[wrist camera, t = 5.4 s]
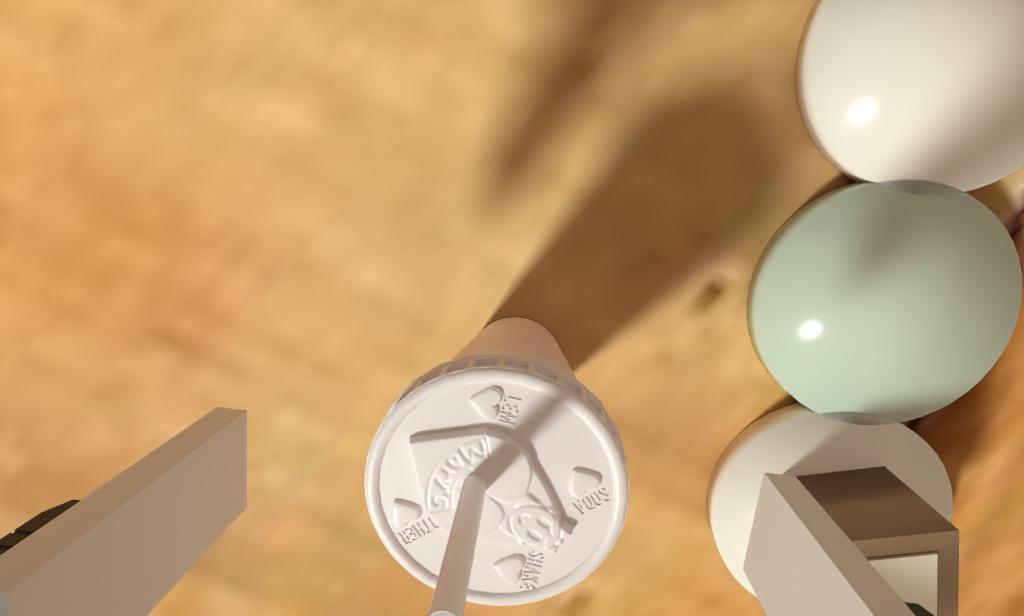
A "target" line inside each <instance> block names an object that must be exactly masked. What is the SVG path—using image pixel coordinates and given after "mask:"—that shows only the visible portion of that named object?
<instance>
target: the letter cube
mask: <svg viewBox="0 0 1024 616" xmlns="http://www.w3.org/2000/svg"><path fill="white" fill-rule="evenodd" d="M795 477H796V478H797V479H798V480H799V481H800V482H801V484H802V485H803V486H804V487H805V488H806V489H807V491H808V492H809V493H810V494H811V495H812V496H813V497H814V499H815V500H816V501H817V502H818V503H819V504H820V506H821V507H822V508H823V509H824V510H825V511H826V513H827V514H828V515H829V516H830V517H831V518H832V519H833V521H834V522H835V523H836V524H837V525H838V526H839V528H840V529H841V530H842V531H843V532H844V533H845V535H846V536H847V537H848V538H849V539H850V540H851V541H852V543H853V544H854V545H855V546H856V547H857V548H858V550H859V551H860V552H861V553H862V554H863V555H864V557H865V558H866V559H867V560H868V561H869V562H870V563H871V565H872V566H873V567H874V568H875V569H876V570H877V572H878V573H879V574H880V575H881V576H882V577H883V579H884V580H885V581H886V582H887V583H888V584H889V585H890V587H891V588H892V589H893V590H894V591H895V592H896V594H897V595H898V596H899V597H900V598H901V599H902V601H903V602H909V603H917V604H919V605H921V606H922V607H923V608H925V609H926V610H927V611H929V612H930V613H931V614H933V615H934V616H958V572H959V530H958V529H957V528H956V527H955V526H953V525H952V524H951V523H950V522H949V521H948V520H946V519H945V518H944V517H943V516H942V515H941V514H940V513H938V512H937V511H936V510H935V509H934V508H933V507H931V506H930V505H929V504H928V503H927V502H926V501H924V500H923V499H922V498H921V497H920V496H919V495H917V494H916V493H915V492H914V491H913V490H912V489H910V488H909V487H908V486H907V485H906V484H905V483H903V482H902V481H901V480H900V479H899V478H898V477H896V476H895V475H894V474H893V473H892V472H891V471H889V470H888V469H887V468H886V467H885V466H882V467H873V468H864V469H855V470H846V471H838V472H829V473H820V474H811V475H802V476H795Z"/></svg>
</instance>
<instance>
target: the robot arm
mask: <svg viewBox="0 0 1024 616" xmlns="http://www.w3.org/2000/svg"><path fill="white" fill-rule="evenodd" d="M246 507H247V411H246V410H238V409H229V408H221V407H217V408H215V409H214V410H212V411H211V412H210V413H208V414H207V415H205V416H204V417H202V418H201V419H199V420H198V421H196V422H195V423H193V424H192V425H191V426H189V427H188V428H186V429H185V430H183V431H182V432H180V433H179V434H177V435H176V436H174V437H173V438H172V439H170V440H169V441H167V442H166V443H164V444H163V445H161V446H160V447H158V448H157V449H155V450H154V451H153V452H151V453H150V454H148V455H147V456H145V457H144V458H142V459H141V460H139V461H138V462H136V463H135V464H133V465H132V466H131V467H129V468H128V469H126V470H125V471H123V472H122V473H120V474H119V475H117V476H116V477H114V478H113V479H112V480H110V481H109V482H107V483H106V484H104V485H103V486H101V487H100V488H98V489H97V490H95V491H94V492H93V493H91V494H90V495H88V496H87V497H85V498H84V499H82V500H81V501H80V500H71V501H68V502H66V503H64V504H61V505H59V506H56V507H54V508H51V509H49V510H47V511H44V512H42V513H40V514H38V515H37V516H35V517H34V518H32V519H31V520H29V521H28V522H26V523H25V524H23V525H22V526H20V527H19V528H17V529H16V530H15V532H14V533H9V534H8V535H6V536H5V537H3V538H2V539H0V616H147V615H148V614H149V613H150V612H151V611H152V610H153V609H154V607H155V606H156V605H157V604H158V603H159V602H160V601H161V600H162V599H163V598H164V597H165V595H166V594H167V593H168V592H169V591H170V590H171V589H172V588H173V587H174V586H175V585H176V584H177V582H178V581H179V580H180V579H181V578H182V577H183V576H184V575H185V574H186V573H187V572H188V570H189V569H190V568H191V567H192V566H193V565H194V564H195V563H196V562H197V561H198V560H199V558H200V557H201V556H202V555H203V554H204V553H205V552H206V551H207V550H208V549H209V548H210V547H211V545H212V544H213V543H214V542H215V541H216V540H217V539H218V538H219V537H220V536H221V535H222V533H223V532H224V531H225V530H226V529H227V528H228V527H229V526H230V525H231V524H232V523H233V521H234V520H235V519H236V518H237V517H238V516H239V515H240V514H241V513H242V512H243V511H244V510H245V508H246ZM743 570H744V572H745V574H746V576H747V578H748V580H749V582H750V584H751V586H752V588H753V590H754V592H755V594H756V595H757V597H758V599H759V601H760V603H761V605H762V607H763V609H764V611H765V613H766V615H767V616H934V615H933V614H931V613H930V612H929V611H927V610H926V609H925V608H923V607H922V606H921V605H919V604H917V603H909V602H903V601H902V599H901V598H900V597H899V596H898V595H897V594H896V592H895V591H894V590H893V589H892V588H891V587H890V585H889V584H888V583H887V582H886V581H885V580H884V579H883V577H882V576H881V575H880V574H879V573H878V572H877V570H876V569H875V568H874V567H873V566H872V565H871V563H870V562H869V561H868V560H867V559H866V558H865V557H864V555H863V554H862V553H861V552H860V551H859V550H858V548H857V547H856V546H855V545H854V544H853V543H852V541H851V540H850V539H849V538H848V537H847V536H846V535H845V533H844V532H843V531H842V530H841V529H840V528H839V526H838V525H837V524H836V523H835V522H834V521H833V519H832V518H831V517H830V516H829V515H828V514H827V513H826V511H825V510H824V509H823V508H822V507H821V506H820V504H819V503H818V502H817V501H816V500H815V499H814V497H813V496H812V495H811V494H810V493H809V492H808V491H807V489H806V488H805V487H804V486H803V485H802V484H801V482H800V481H799V480H798V479H797V478H796V477H795V476H790V475H782V474H774V473H765V472H764V474H763V479H762V483H761V488H760V492H759V497H758V501H757V506H756V511H755V515H754V520H753V524H752V529H751V533H750V538H749V542H748V547H747V552H746V556H745V561H744V565H743Z"/></svg>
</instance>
